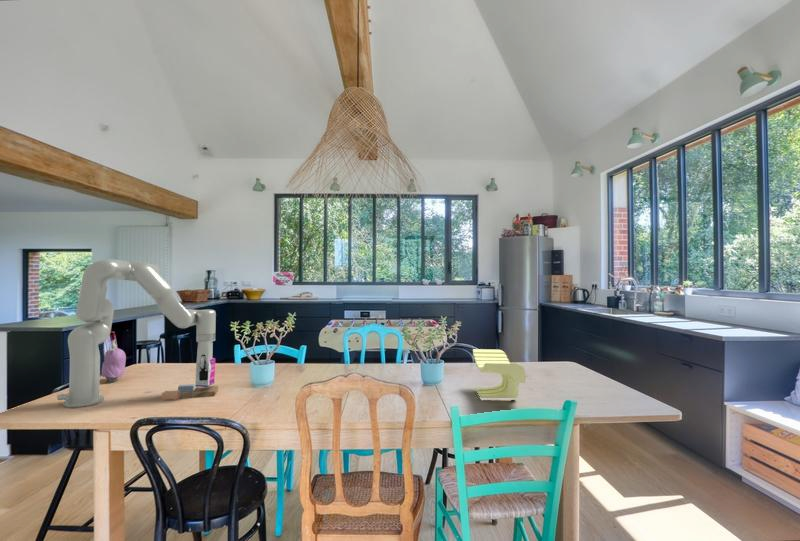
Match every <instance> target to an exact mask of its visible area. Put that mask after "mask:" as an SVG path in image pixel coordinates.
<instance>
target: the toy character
mask: <svg viewBox="0 0 800 541" xmlns="http://www.w3.org/2000/svg"><path fill="white" fill-rule="evenodd" d="M126 355H127V354H126V352H125V351H124V350H123V349H121V348H118V345H117V344H116V339H112V340H111V347H110V349H108V350H107V351H105V355H104V357H103V360H104V361H103V362H102V367H101V369H100V375H101V376H102V377H103V378H104V377H105V379H106V380H107V381H108V382H109V383H114V382H115V381H116V380H117V379H118V378H122V376H124V375H125V371H126V363H127V362H126V361H127V356H126Z"/></svg>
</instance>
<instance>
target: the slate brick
mask: <svg viewBox="0 0 800 541" xmlns="http://www.w3.org/2000/svg"><path fill="white" fill-rule="evenodd" d="M195 388H196V387H195V383H191V384H190V383H189V384H187V383H186V384H179V385H178V386H177V391H180V394H184V393H183V392H188V393H192V392H193V391H194V389H195Z"/></svg>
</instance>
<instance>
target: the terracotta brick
mask: <svg viewBox="0 0 800 541" xmlns="http://www.w3.org/2000/svg"><path fill="white" fill-rule="evenodd" d="M179 397H180V398H181V393H180V391H178V390H165V391H164V392H162V393H161V401H165V400H166V399H175V400H178V399H180V398H179ZM166 401H167V400H166Z"/></svg>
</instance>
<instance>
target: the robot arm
mask: <svg viewBox="0 0 800 541" xmlns="http://www.w3.org/2000/svg"><path fill="white" fill-rule="evenodd" d="M110 280H119V281H120V280H123V281H131V282H136V283H137V284H138V285H139V286H140V287H141V288H142V289H143V290H144V291H145V292H146V293H147V294H148V295H149V296H150V297H151V298H152V299H153V300H154V302H155V304H156V305H157V307H158V308H159V310H160V311H161V313H162V314H163V315H164V316H165V317H166V318H167V319H168V320H169V321H170V322H171V323H172V325H174V326H175V327H177V328H179V329H187V328H190V327H193V326H196V336H195V337H196V339H195V340H196V343H197V352H196V361H197V365H199V364H200V371H199V380H200V381H202V380H207V379H208V371H207V365H208V364H209V361H210V360H211V359H212V358H213V356H214V355H213V352H214V350H213V348H214V347H213V346H214V345H213V344H214V343H213V342H215V341H216V330H217V329H216V327H217V326H216V323H217V322H216V321H217V320H216V319H217V318H216V317H217V313H216V310H214V309H210V308H209V309H208V308H207V309H192V308H188V309H187V308H186V307H184V306H183V304H181V303H180V301H179V300H178V298H177V297H176V295H175V290H174V287H173V286H172V285H171V284H170V283H169V282H168V280H166V278H164V276H162V271H161V269H160V267H159V266H158V265H156V264H154V263H148V262H137V261H131V260H130V261H129V260H122V259H116V258H106V259H99V260H97V261H94V262H92V263H90V264H89V265H88V266H87V267H86V268H85V269H84V271H83V273H82V278H81V282H80V284H81V285H80V290H79V293H78V302H77V306H76V313H75V314H76V317H77V318H78V320H80V321H82V322H85V324H83V325H79V326H77V327H75V328H73V329H72V330H71V332H70V333H69V334H68V336H67V337H68V338H67V345H68V351H69V377H68V379H69V383H68V384H69V385H68V388H69V389H68V393H60V394H58V393H57V396H56V399H57V401H65V402H63V407H64V408H68V409H69V408H75V409H76V408H82V407H84V408H85V407H88V406H89V407H90V406H93V405H97V404H99V403H101V402H103V401H104V400H105V397H104V396H103V395H100V382H101V380H100V378H101V374H100V372H101V354H100V349H99V345H102V344H103V343H104V342H106V341H107V340H108V339H109V337H110V335H111V332H112V325H113V321H114V320H113V319H114V313H115V312H114V311H115V309H114V305H113V303H112V302H111V300H109V299H108V298H106V297H107V291H108V284H107V282H108V281H110ZM200 361H201V363H200ZM204 362H206V364H204ZM205 367H206V368H205Z"/></svg>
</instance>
